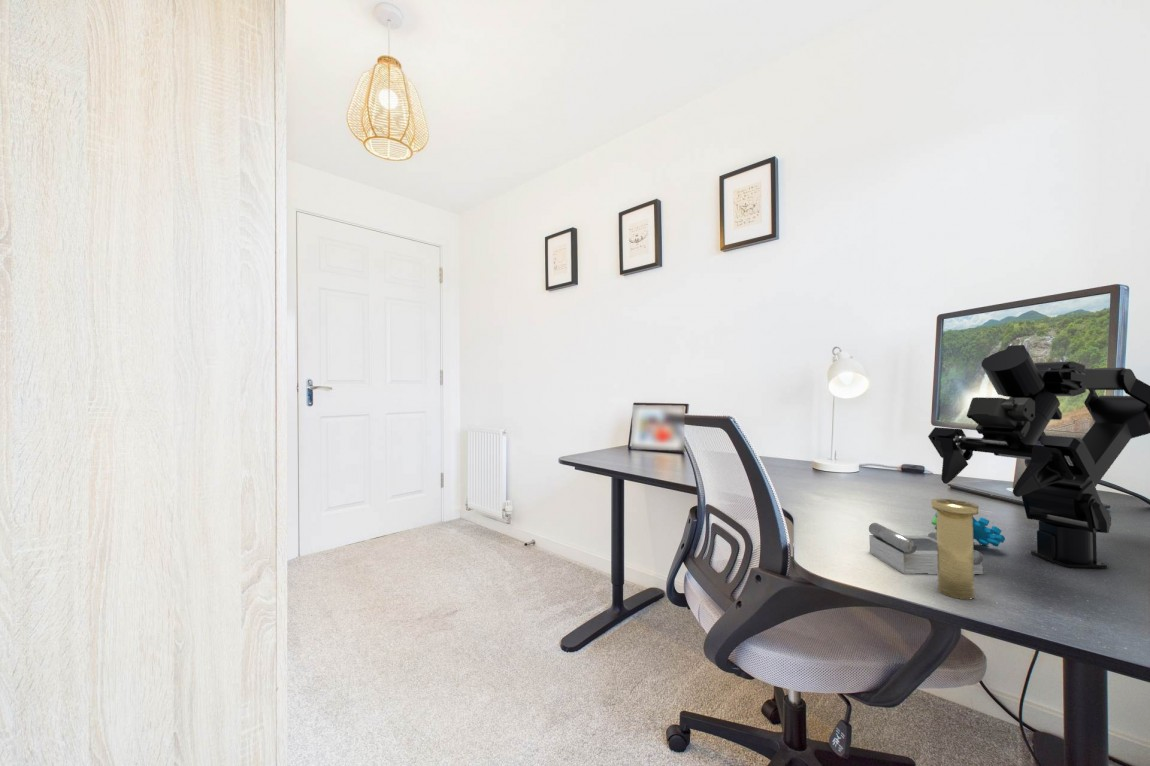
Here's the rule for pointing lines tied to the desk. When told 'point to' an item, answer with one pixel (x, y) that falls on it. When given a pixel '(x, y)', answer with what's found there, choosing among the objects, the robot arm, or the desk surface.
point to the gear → (982, 532)
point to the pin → (955, 547)
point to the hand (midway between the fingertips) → (977, 487)
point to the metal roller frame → (909, 551)
